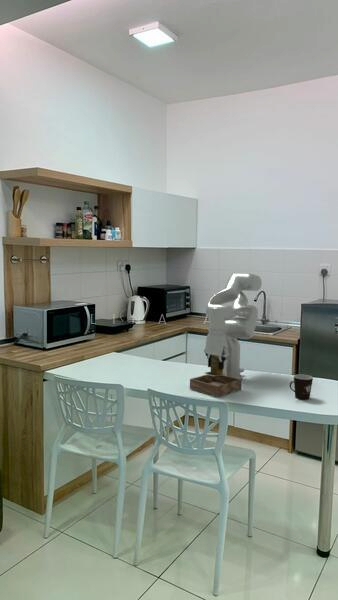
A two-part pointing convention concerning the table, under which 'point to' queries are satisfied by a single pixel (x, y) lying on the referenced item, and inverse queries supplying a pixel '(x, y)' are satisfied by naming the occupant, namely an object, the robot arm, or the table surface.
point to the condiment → (215, 367)
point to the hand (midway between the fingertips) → (215, 367)
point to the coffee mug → (302, 386)
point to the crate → (215, 385)
